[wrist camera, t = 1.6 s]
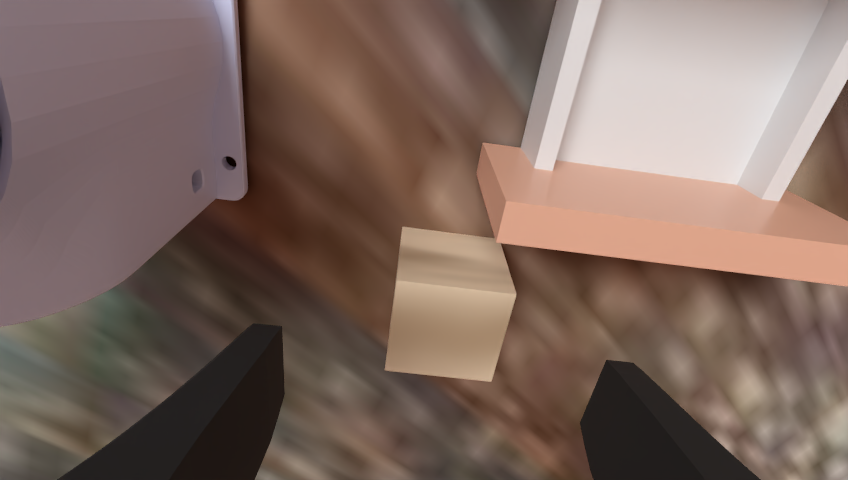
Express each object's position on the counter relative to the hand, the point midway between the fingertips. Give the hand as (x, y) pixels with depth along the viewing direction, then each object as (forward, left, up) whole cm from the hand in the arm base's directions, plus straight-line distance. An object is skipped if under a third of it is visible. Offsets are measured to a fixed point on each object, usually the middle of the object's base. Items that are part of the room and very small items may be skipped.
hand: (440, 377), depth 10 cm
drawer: (+7, -7, -9) cm, 13 cm away
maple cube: (-3, -1, -9) cm, 9 cm away
